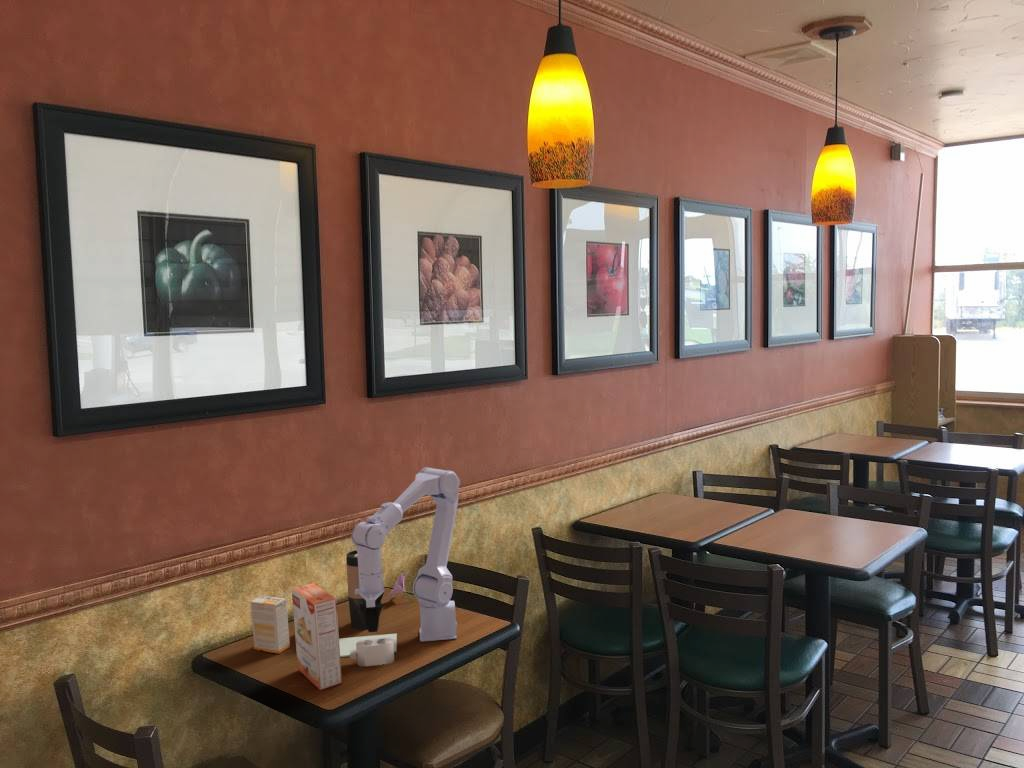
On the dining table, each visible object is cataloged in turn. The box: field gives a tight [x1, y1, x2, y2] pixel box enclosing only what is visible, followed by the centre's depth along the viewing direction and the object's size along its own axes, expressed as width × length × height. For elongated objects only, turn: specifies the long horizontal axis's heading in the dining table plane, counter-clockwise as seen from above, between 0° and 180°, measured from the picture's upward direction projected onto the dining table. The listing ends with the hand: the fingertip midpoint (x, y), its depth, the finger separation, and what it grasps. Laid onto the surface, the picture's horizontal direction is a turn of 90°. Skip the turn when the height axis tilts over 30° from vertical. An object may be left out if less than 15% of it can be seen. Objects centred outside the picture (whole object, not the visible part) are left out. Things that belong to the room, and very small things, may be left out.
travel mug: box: [345, 549, 367, 630], centre depth 227 cm, size 8×8×20 cm
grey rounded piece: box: [349, 638, 395, 667], centre depth 203 cm, size 11×4×5 cm, turn 97°
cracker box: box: [291, 582, 343, 691], centre depth 195 cm, size 14×6×21 cm, turn 35°
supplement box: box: [249, 595, 291, 655], centre depth 213 cm, size 8×5×13 cm, turn 65°
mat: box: [339, 632, 398, 658], centre depth 213 cm, size 16×11×1 cm
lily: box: [382, 569, 414, 604], centre depth 244 cm, size 12×12×10 cm
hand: (373, 625), depth 203 cm, fingers open, 7 cm apart
